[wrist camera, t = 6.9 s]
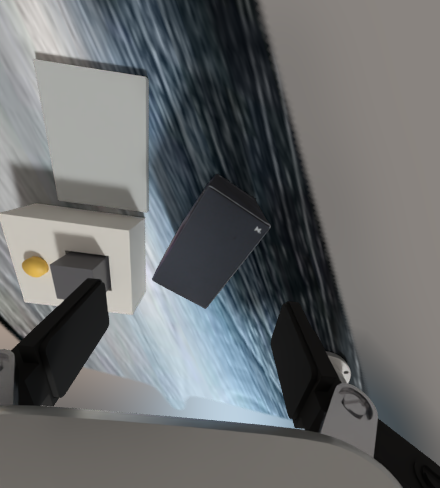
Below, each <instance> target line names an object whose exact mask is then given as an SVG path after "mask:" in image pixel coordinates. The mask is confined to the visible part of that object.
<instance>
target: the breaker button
mask: <svg viewBox="0 0 440 488" xmlns="http://www.w3.org/2000/svg"><path fill="white" fill-rule="evenodd" d="M50 269H51V274H52V278H53V283H54V287H55V292H56V296H57V299H63V300H65V299H66V298H67V297H68V296H69V295H70V294H71V293H72V292H73V291H74V290H75V289H76V288H78V287H79V286H80V285H81V284H82V283H83V282H84V281H85V280H86V279H87V278H94V279H101V280H102V282H103V283H105V288H106V292H107V291H108V290H109V288H110V287H111V277H110V266H109V256H105V255H97V254H89V253H82V252H74V251H70V252H69V253H67V254H66V255H64V256H62V257H61V258H59V259H58V260H56V261H55V262H53V263H51V264H50Z"/></svg>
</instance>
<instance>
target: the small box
mask: <svg viewBox="0 0 440 488" xmlns="http://www.w3.org/2000/svg"><path fill="white" fill-rule="evenodd" d="M270 228H271V226H270V223H269V222H268V221H267V220H266V218H265V216H264V214H263V213H262V211H261V209H260V207H259V205H258V204H257V202H256V198H254V197H252V196H250V195H248V193H245V192H244V191H242V190H241V189H239V188H238V187H236V186H235V185H234V184H232V183H231V182H230V181H229V180H227V179H225V178H224V177H222V176H220V175H219V174H215V176H214V177H213V178H212V179H211V180H210V182H209V183H208V184H207V186H206V187H205V189H204V190H203V191H202V193H201V194H200V196H199V197H198V199H197V200H196V202H195V204H194V205H193V207H192V208H191V210H190V211H189V213H188V214H187V216H186V217H185V219H184V221H183V222H182V224H181V226H180V227H179V229H178V231H177V233H176V234H175V236H174V238H173V240H172V241H171V243H170V245H169V247H168V249H167V250H166V252H165V254H164V256H163V258H162V260H161V262H160V264H159V266H158V268H157V270H156V272H155V274H154V276H153V278H152V280H153V281H155V282H156V283H158V284H160V285H162V286H163V287H165V288H167V289H169V290H171V291H173V292H175V293H176V294H178V295H180V296H182V297H184V298H186V299H188V300H190V301H192V302H194V303H196V304H198V305H199V306H201V307H203V308H205V309H206V308H207V307H208V306H209V304H210V303H211V302H212V301H213V299H214V298H215V297H216V296H217V294H218V293H219V292H220V291H221V289H222V288H223V287H224V286H225V284H226V283H227V282H228V281H229V279H230V278H231V277H232V276H233V275H234V273H235V272H236V271H237V269H238V268H239V267H240V266H241V264H242V263H243V262H244V261H245V259H246V258H247V257H248V256H249V254H250V253H251V252H252V251H253V249H254V248H255V247H256V246H257V244H258V243H259V242H260V241H261V239H262V238H263V237H264V235H265V234H266V233H267V232H268V230H269V229H270Z"/></svg>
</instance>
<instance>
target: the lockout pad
mask: <svg viewBox="0 0 440 488" xmlns="http://www.w3.org/2000/svg"><path fill="white" fill-rule="evenodd" d="M33 61H34V67H35V72H36V78H37V84H38V89H39V95H40V101H41V106H42V112H43V118H44V123H45V129H46V134H47V140H48V146H49V151H50V157H51V163H52V168H53V174H54V180H55V185H56V191H57V197H58V201H65V202H73V203H80V204H87V205H95V206H102V207H109V208H117V209H124V210H131V211H139V212H146V213H147V212H148V211H149V79H148V78H147V77H144V76H137V75H131V74H125V73H119V72H112V71H106V70H100V69H93V68H87V67H81V66H75V65H68V64H62V63H56V62H50V61H43V60H37V59H33Z"/></svg>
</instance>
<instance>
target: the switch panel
mask: <svg viewBox="0 0 440 488" xmlns="http://www.w3.org/2000/svg"><path fill="white" fill-rule="evenodd" d="M0 222H1V225H2V228H3V232H4V235H5V238H6V242H7V245H8V248H9V252H10V255H11V258H12V261H13V265H14V268H15V271H16V275H17V278H18V281H19V285H20V288H21V291H22V295H23V298H24V301H25V302H27V303H36V304H44V305H53V306H59V305H60V304H61V303H62V302H63V301H64V300H63V299H57V296H56V292H55V287H54V283H53V278H52V274H51V269H50V264H51V263H53V262H55V261H56V260H58V259H59V258H61V257H62V256H64V255H66V254H67V253H69V252H70V251H74V252H82V253H89V254H97V255H105V256H109V266H110V277H111V287H110V288H109V290H108V291H107V292H106V297H107V306H108V312H112V313H121V314H129V315H133V313H134V312H135V310H136V308H137V306H138V305H139V303H140V301H141V299H142V298H143V296H144V294H145V292H146V269H145V218H143V217H135V216H128V215H120V214H113V213H106V212H98V211H91V210H83V209H76V208H69V207H61V206H54V205H46V204H39V203H35V204H31V205H28V206H24V207H20V208H16V209H13V210H9V211H5V212H1V213H0Z"/></svg>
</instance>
